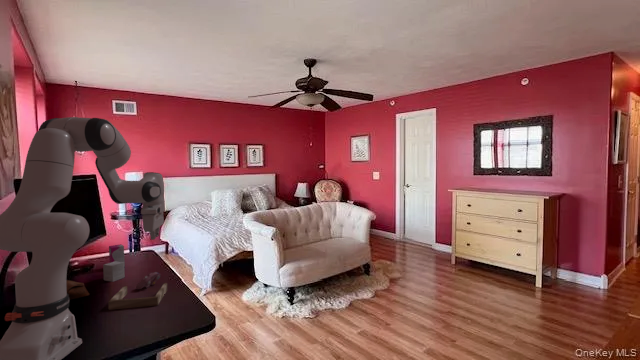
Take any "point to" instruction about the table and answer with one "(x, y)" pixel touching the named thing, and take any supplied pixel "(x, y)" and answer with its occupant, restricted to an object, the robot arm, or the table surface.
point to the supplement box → (116, 253)
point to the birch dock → (135, 299)
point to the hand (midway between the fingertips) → (154, 238)
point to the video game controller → (148, 280)
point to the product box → (113, 271)
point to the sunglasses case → (76, 289)
